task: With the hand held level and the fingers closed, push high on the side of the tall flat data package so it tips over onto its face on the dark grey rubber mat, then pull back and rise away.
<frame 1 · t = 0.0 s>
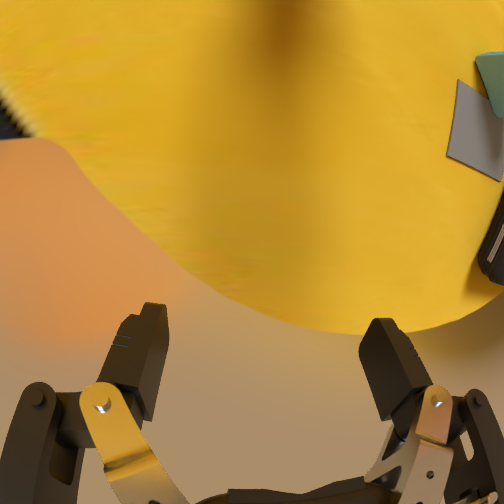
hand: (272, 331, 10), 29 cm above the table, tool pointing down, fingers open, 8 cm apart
data package: (489, 84, 26), on the table, touching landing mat
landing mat: (483, 134, 31), on the table
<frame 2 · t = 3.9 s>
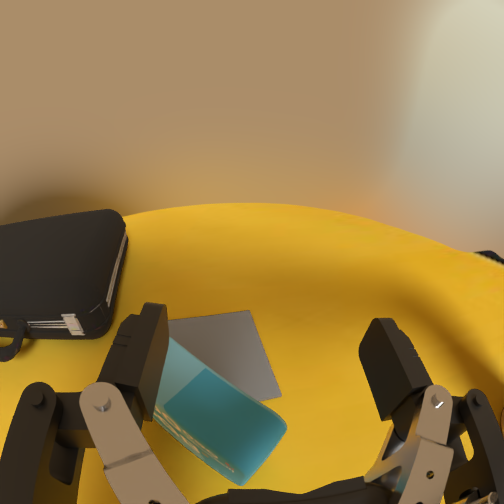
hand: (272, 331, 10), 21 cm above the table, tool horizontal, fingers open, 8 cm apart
data package: (207, 439, 23), on the table, touching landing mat
briefcase: (33, 305, 35), on the table
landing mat: (192, 361, 31), on the table
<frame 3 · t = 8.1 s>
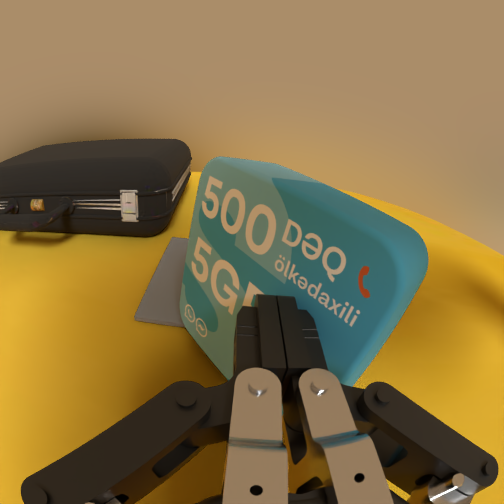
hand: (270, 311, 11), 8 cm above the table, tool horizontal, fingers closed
data package: (249, 366, 17), on the table, touching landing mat
briefcase: (74, 214, 37), on the table
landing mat: (247, 281, 27), on the table
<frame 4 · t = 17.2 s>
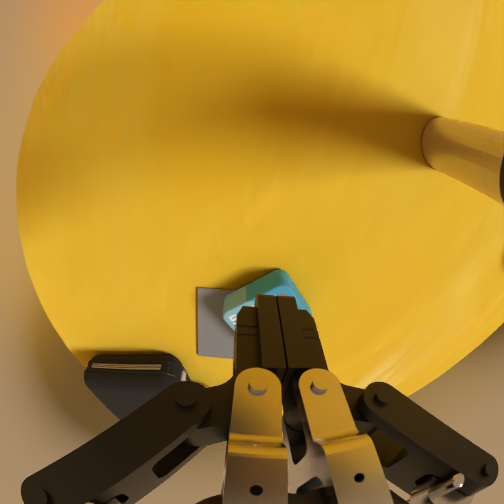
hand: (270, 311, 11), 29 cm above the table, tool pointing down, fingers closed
data package: (285, 334, 48), point 3 cm above the table, touching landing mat
briefcase: (169, 391, 63), on the table
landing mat: (234, 327, 51), on the table
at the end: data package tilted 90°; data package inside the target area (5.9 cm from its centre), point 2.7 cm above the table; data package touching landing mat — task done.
